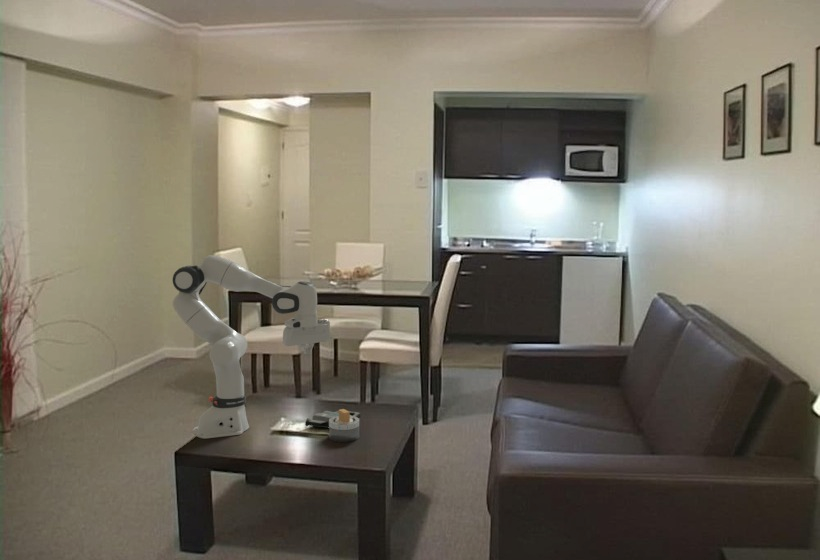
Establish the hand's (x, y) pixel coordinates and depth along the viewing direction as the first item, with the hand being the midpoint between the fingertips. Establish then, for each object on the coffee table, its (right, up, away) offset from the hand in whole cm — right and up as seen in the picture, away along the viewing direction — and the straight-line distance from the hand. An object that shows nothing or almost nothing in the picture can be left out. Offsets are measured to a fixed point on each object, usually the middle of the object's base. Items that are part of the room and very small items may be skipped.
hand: (307, 354), depth 310 cm
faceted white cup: (+16, -32, -8) cm, 37 cm away
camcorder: (+11, -31, +7) cm, 34 cm away
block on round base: (+16, -28, -9) cm, 33 cm away
